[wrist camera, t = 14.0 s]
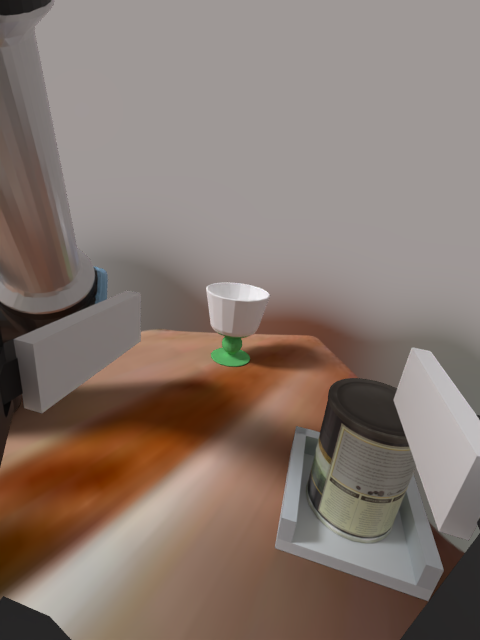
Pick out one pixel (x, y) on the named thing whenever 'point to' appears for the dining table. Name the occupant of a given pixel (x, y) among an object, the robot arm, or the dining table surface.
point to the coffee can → (360, 461)
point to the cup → (235, 318)
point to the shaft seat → (355, 557)
